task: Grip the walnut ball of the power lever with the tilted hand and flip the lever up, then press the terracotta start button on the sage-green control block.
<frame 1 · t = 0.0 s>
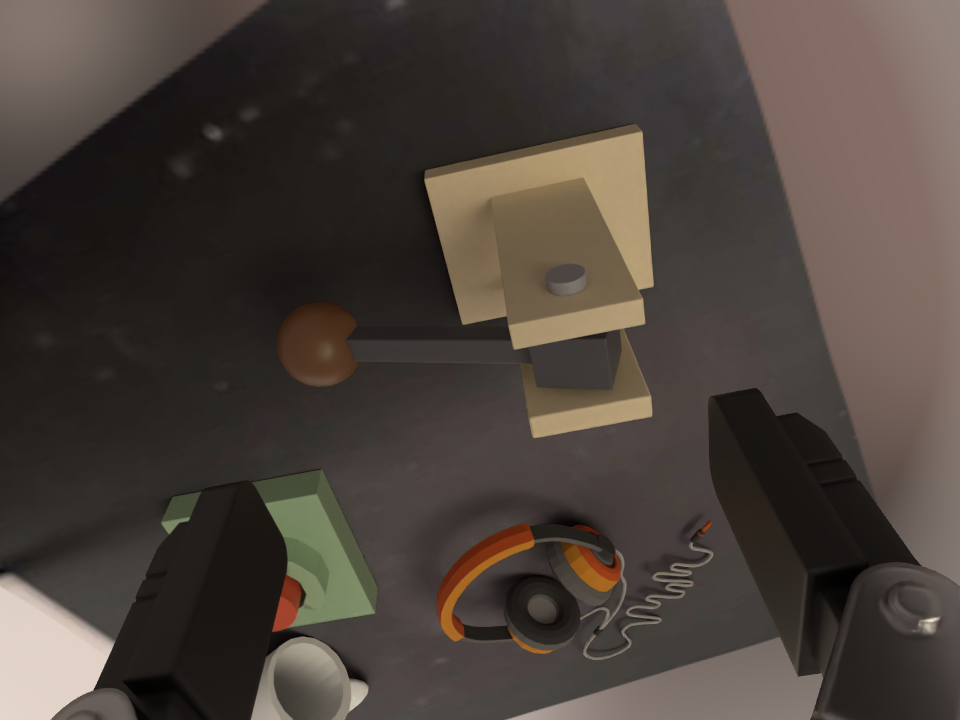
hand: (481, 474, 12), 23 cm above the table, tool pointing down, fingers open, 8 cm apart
mug: (295, 680, 56), on the table
start button: (266, 601, 42), point 4 cm above the table, slide at 0.1 cm
power lever: (434, 344, 27), point 9 cm above the table, hinge at -20.0°
control block: (281, 544, 46), on the table
switch bracket: (542, 225, 34), on the table
headphones: (570, 561, 49), on the table
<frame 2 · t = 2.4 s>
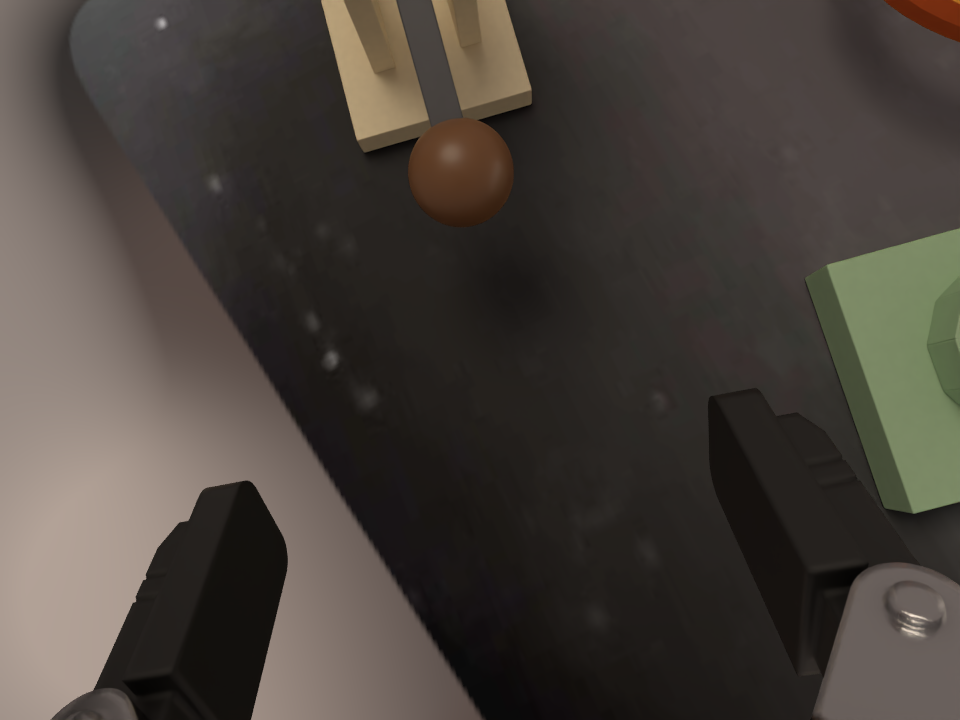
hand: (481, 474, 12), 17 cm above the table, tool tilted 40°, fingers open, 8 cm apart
power lever: (416, 10, 22), point 9 cm above the table, hinge at -20.0°
switch bracket: (420, 32, 32), on the table
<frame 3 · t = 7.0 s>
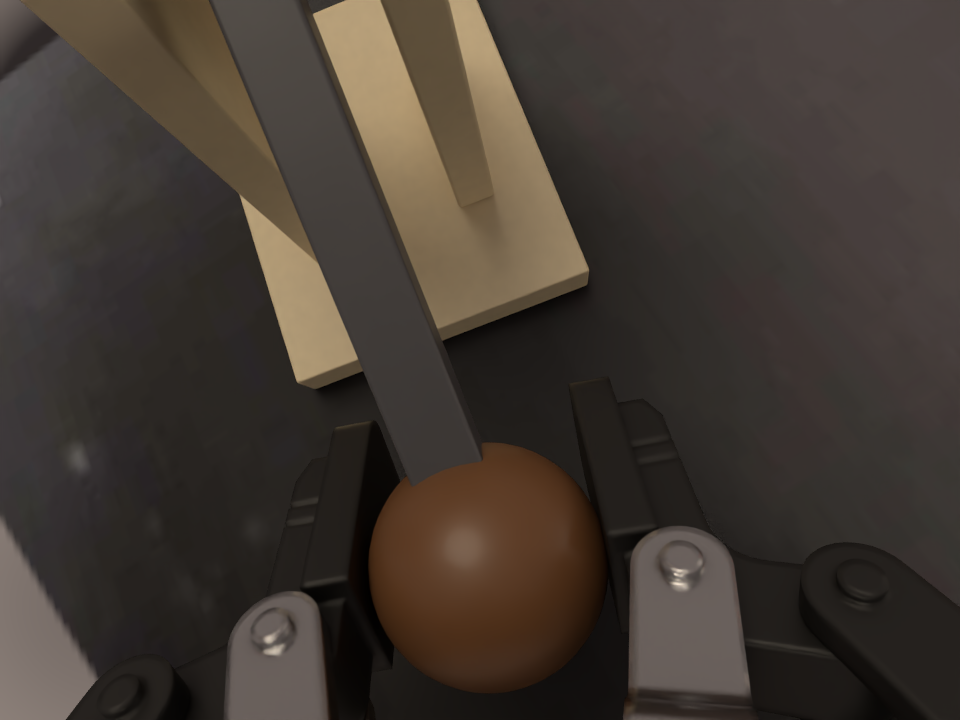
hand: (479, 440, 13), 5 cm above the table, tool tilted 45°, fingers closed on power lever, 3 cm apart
power lever: (353, 230, 10), point 9 cm above the table, hinge at -20.0°, touching gripper
switch bracket: (392, 179, 19), on the table
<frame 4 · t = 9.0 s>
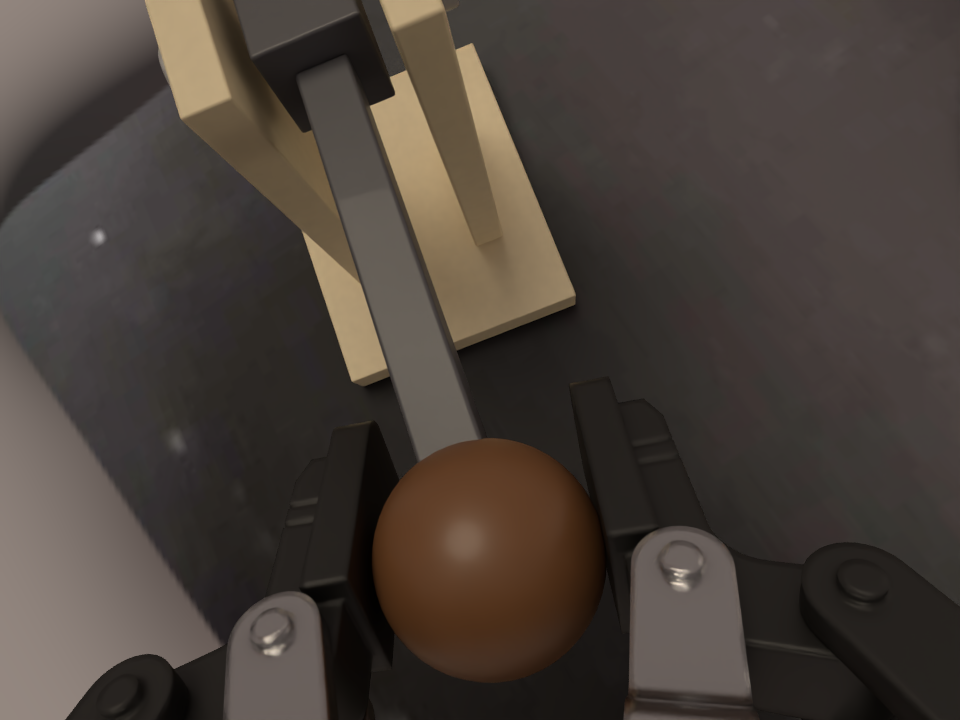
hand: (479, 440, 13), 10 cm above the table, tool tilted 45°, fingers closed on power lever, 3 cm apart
power lever: (391, 263, 12), point 12 cm above the table, hinge at 6.7°, touching gripper
switch bracket: (421, 220, 25), on the table
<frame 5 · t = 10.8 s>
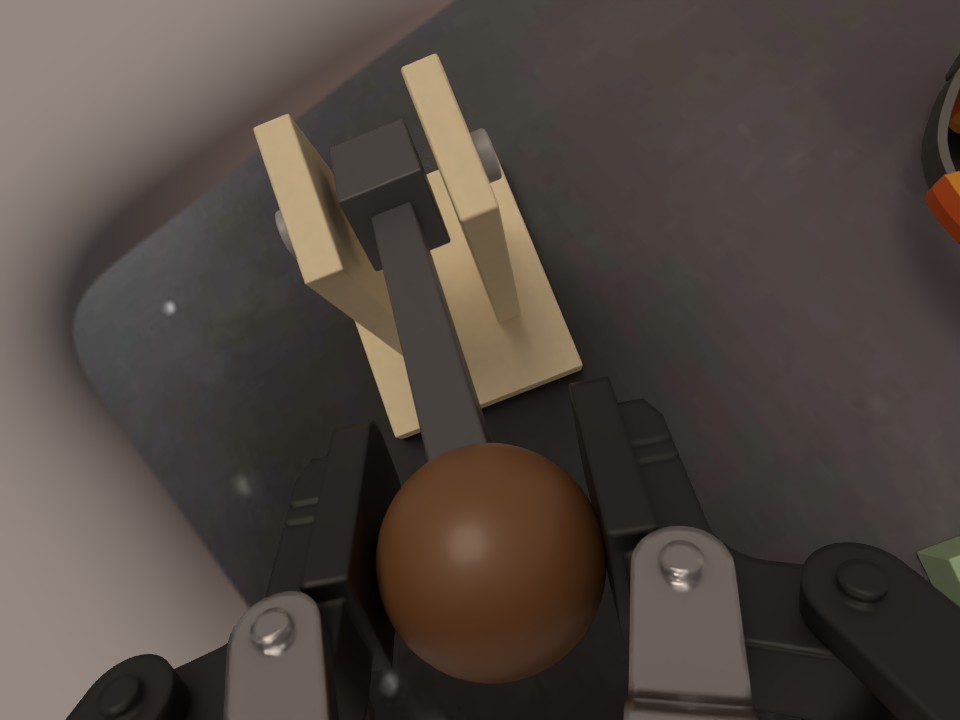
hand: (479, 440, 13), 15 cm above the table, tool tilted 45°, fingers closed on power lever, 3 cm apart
power lever: (428, 335, 14), point 14 cm above the table, hinge at 32.7°, touching gripper
switch bracket: (450, 296, 29), on the table
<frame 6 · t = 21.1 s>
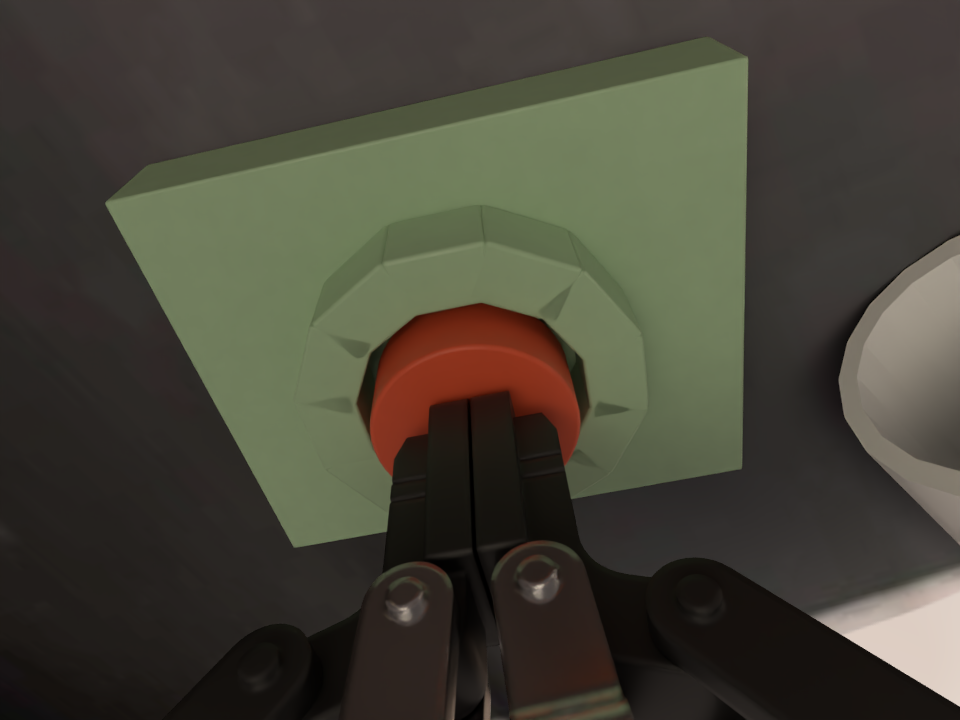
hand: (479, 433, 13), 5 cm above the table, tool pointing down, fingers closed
start button: (474, 406, 14), point 4 cm above the table, slide at -0.4 cm, touching gripper
control block: (469, 307, 17), on the table
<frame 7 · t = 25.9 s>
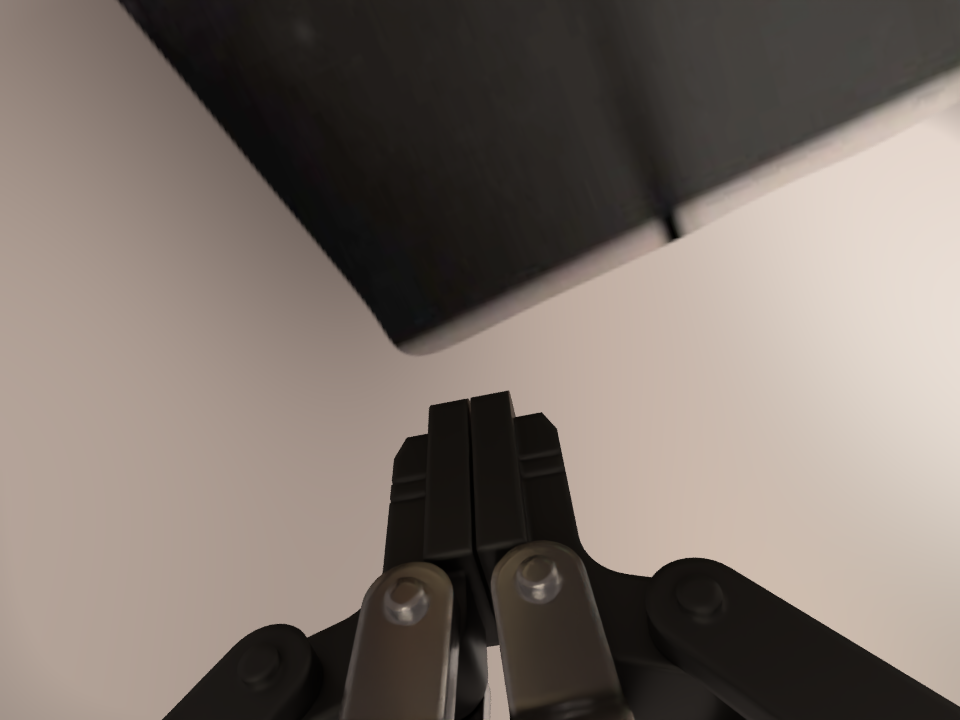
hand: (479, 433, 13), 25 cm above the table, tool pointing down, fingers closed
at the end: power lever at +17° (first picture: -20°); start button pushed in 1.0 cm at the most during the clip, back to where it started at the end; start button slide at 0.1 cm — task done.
